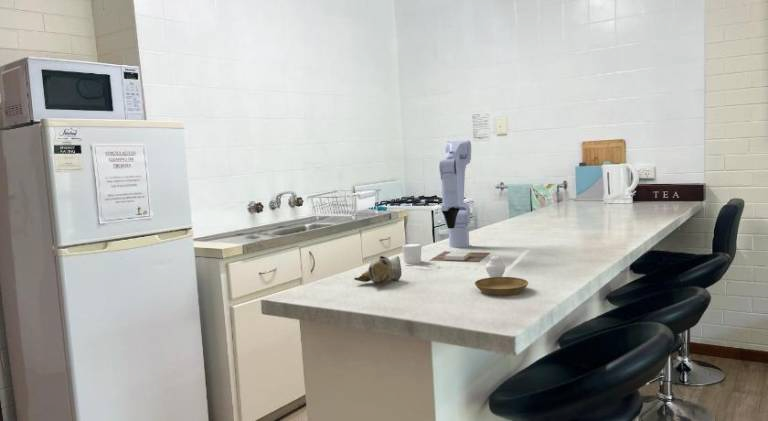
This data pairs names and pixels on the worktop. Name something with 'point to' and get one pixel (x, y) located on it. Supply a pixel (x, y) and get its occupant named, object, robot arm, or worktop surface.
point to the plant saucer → (501, 285)
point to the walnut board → (473, 258)
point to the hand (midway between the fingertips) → (451, 228)
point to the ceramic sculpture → (382, 271)
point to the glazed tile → (457, 256)
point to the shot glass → (412, 253)
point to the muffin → (495, 267)
